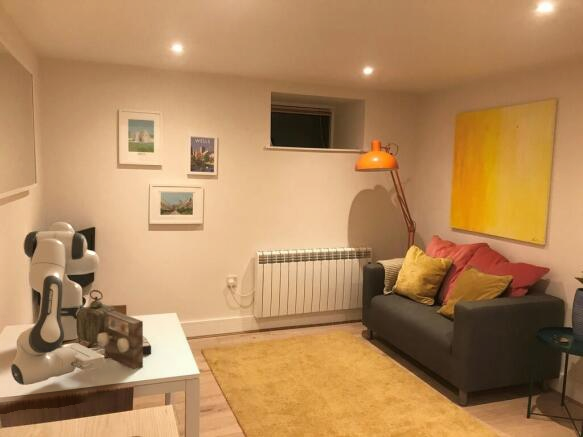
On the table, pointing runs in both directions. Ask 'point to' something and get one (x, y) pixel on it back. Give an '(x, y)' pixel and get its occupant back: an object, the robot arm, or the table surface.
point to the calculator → (146, 347)
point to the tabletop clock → (92, 320)
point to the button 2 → (123, 345)
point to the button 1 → (103, 339)
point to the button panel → (128, 329)
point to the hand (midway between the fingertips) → (102, 350)
